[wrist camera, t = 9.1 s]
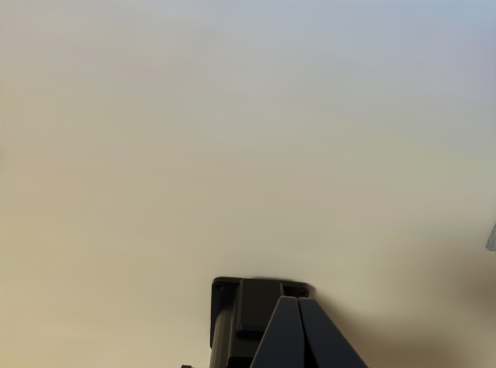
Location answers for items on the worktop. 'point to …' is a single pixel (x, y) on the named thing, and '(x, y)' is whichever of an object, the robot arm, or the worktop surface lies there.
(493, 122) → the worktop surface
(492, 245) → the grey mat
